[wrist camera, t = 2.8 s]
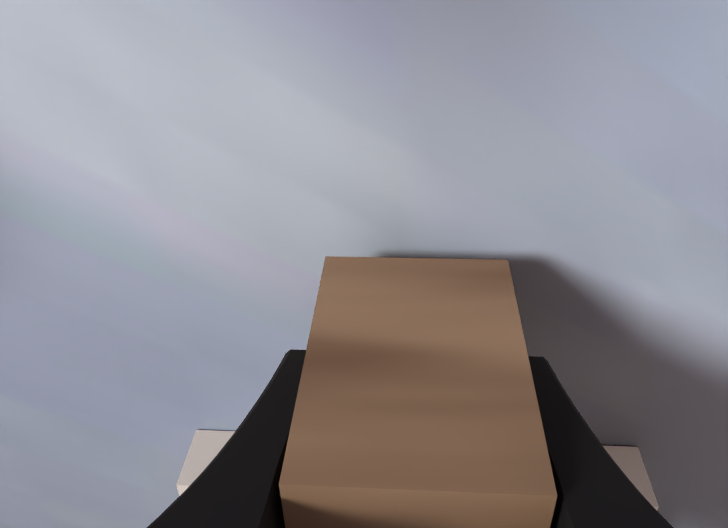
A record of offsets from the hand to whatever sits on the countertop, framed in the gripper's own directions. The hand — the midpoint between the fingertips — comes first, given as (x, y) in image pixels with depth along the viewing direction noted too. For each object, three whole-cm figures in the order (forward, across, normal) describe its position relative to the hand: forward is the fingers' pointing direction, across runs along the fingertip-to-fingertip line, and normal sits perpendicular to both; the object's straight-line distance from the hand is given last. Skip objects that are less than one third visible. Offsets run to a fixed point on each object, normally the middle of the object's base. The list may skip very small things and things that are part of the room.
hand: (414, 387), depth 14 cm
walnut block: (+2, 0, 0) cm, 2 cm away
